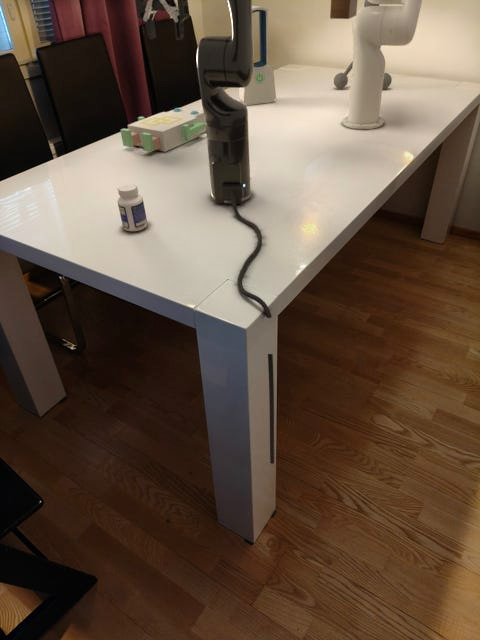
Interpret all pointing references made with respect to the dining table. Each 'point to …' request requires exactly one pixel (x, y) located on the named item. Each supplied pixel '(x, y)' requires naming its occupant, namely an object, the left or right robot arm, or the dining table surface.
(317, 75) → the dining table surface
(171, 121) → the decorative block
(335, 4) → the block
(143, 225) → the pill bottle
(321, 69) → the dining table surface
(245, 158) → the left robot arm
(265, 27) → the electronic device
